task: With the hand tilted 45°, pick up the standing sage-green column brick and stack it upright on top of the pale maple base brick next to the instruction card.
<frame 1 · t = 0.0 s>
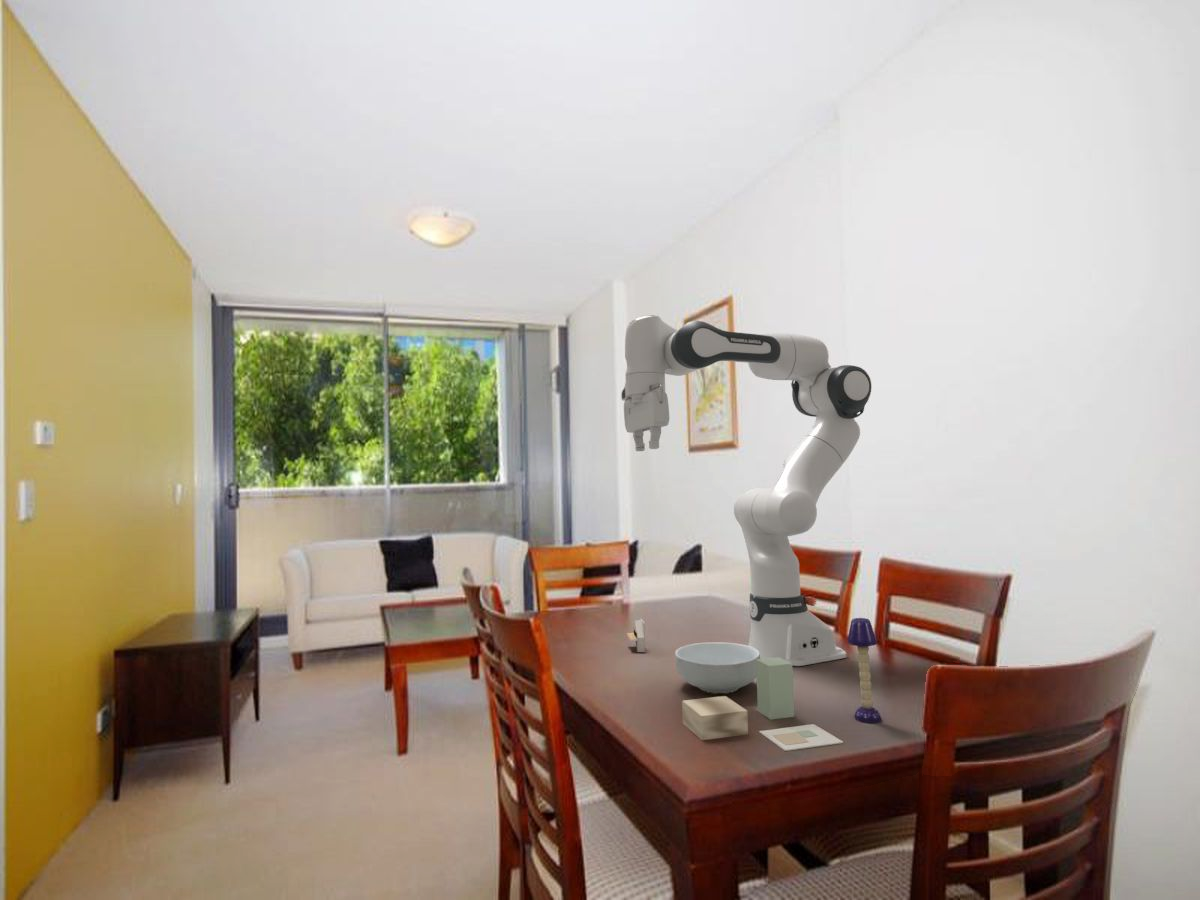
hand: (646, 450, 149), 48 cm above the table, tool pointing down, fingers open, 8 cm apart
cereal bowl: (718, 688, 133), on the table
column brick: (775, 713, 117), on the table
base brick: (714, 730, 111), on the table
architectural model: (639, 652, 164), on the table
instruction card: (800, 737, 106), on the table
toy lamp: (865, 719, 114), on the table
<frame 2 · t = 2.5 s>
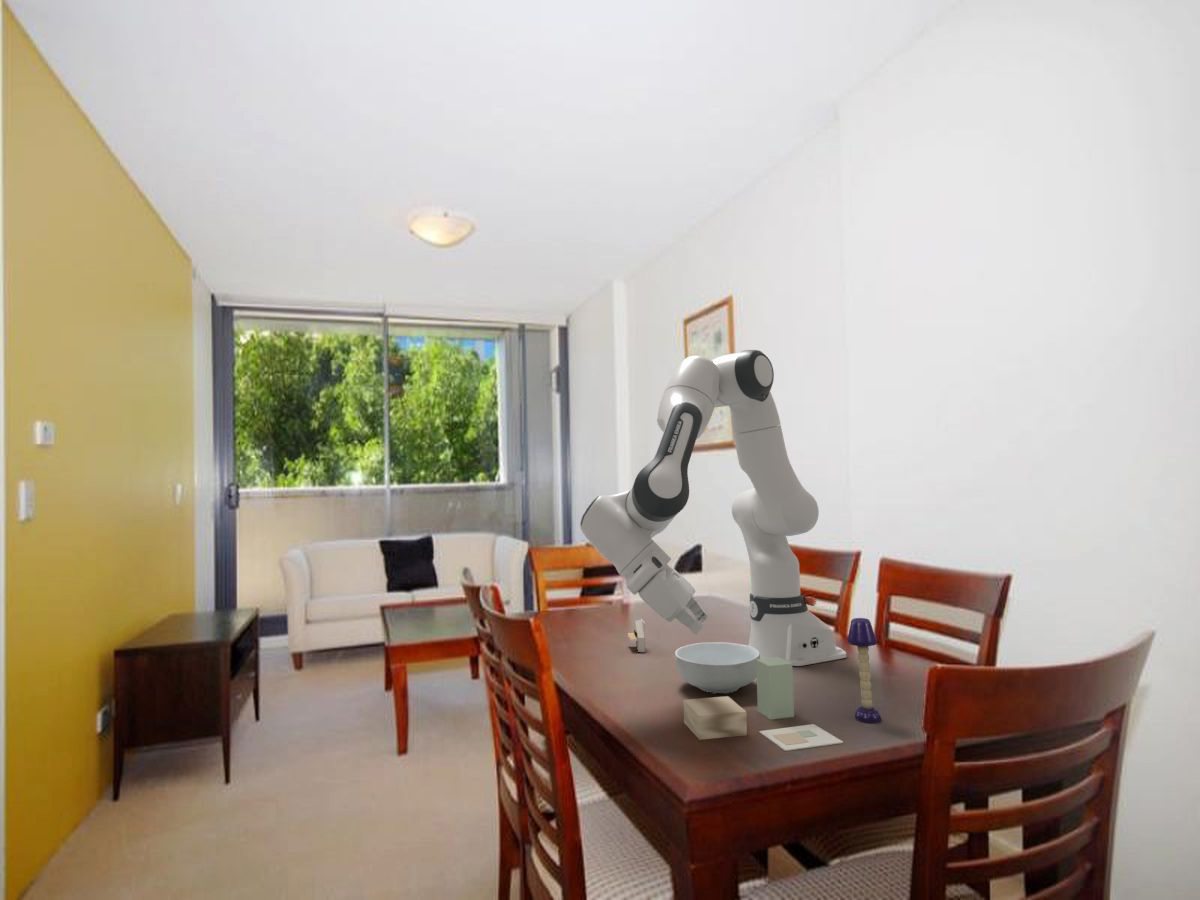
hand: (702, 624, 121), 15 cm above the table, tool tilted 45°, fingers open, 8 cm apart
nothing on the table moved.
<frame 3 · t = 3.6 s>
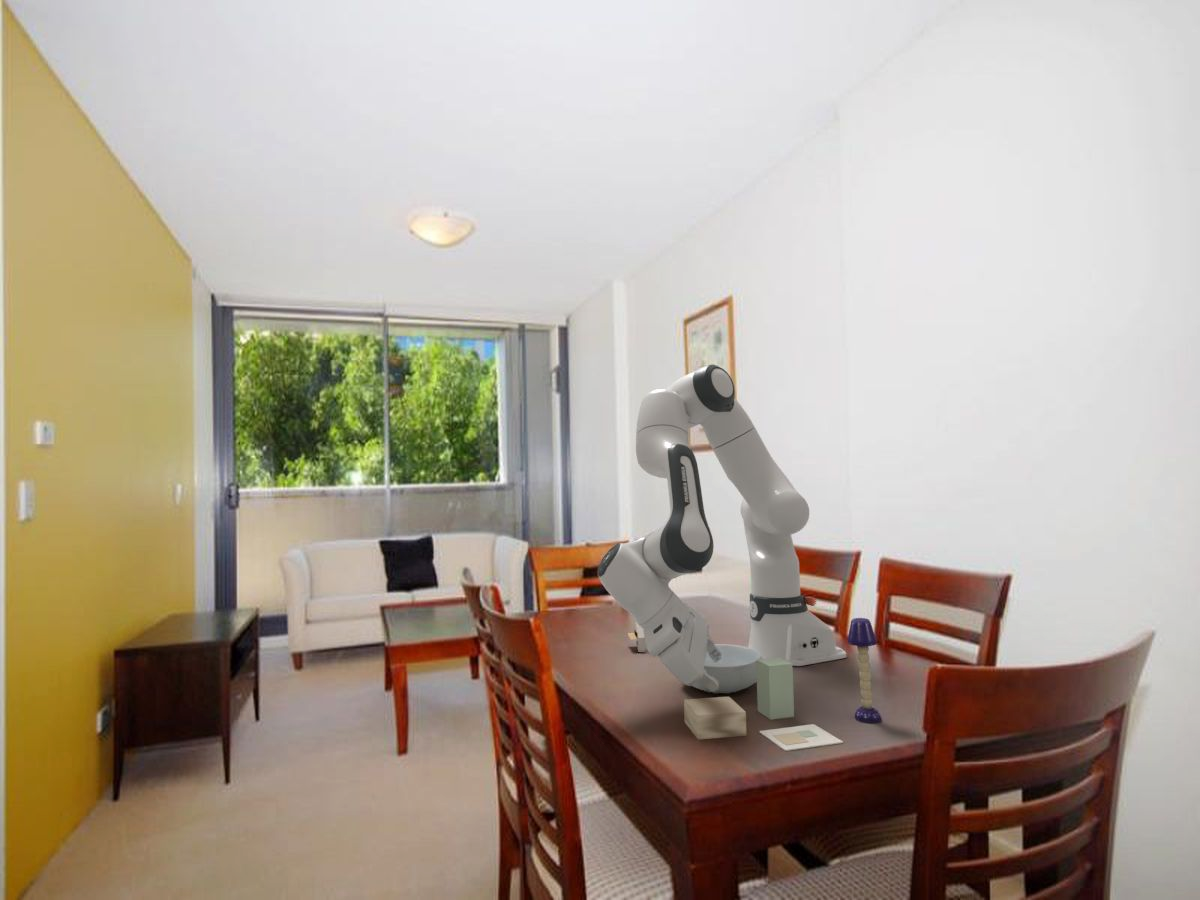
hand: (717, 672, 124), 5 cm above the table, tool tilted 45°, fingers open, 8 cm apart
cereal bowl: (719, 690, 133), on the table, touching gripper
everything else where it was.
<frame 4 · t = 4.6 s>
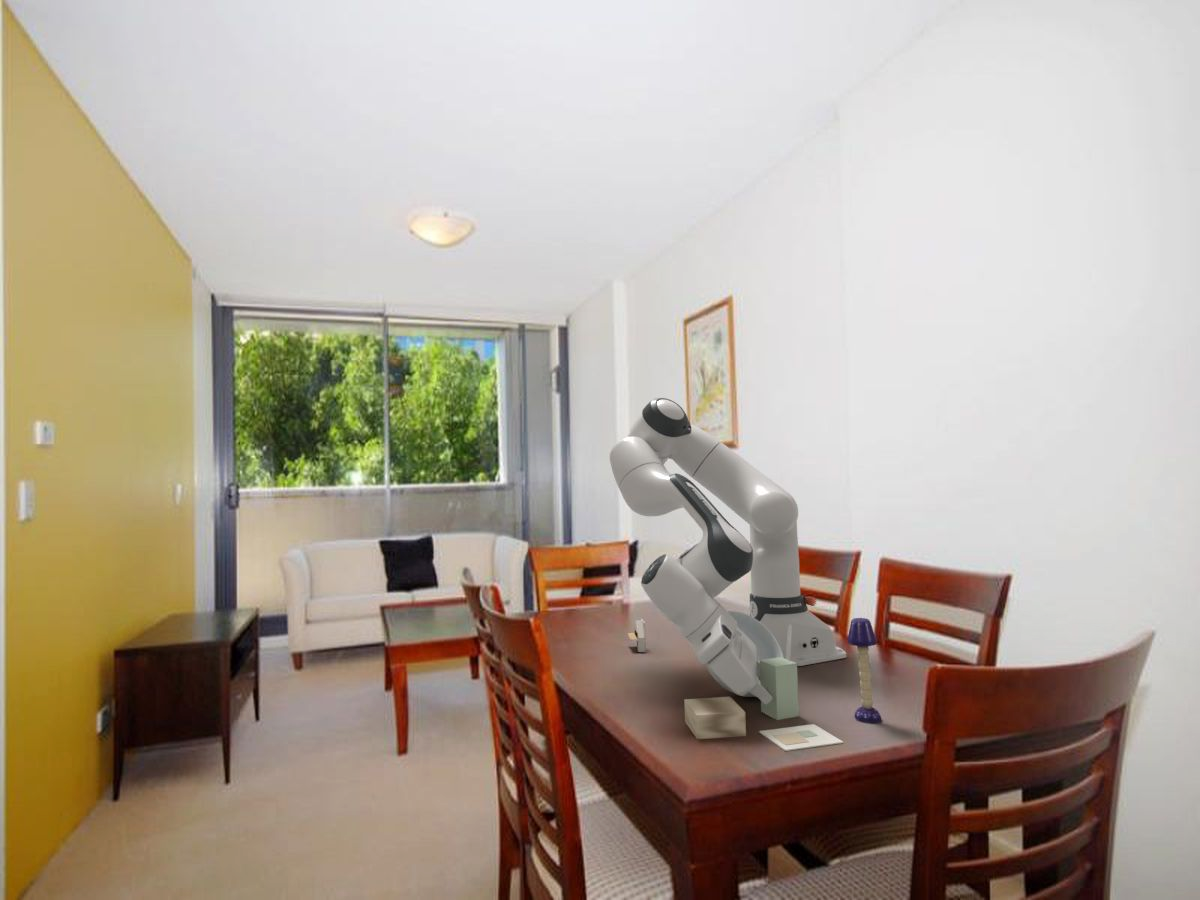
hand: (769, 691, 119), 4 cm above the table, tool tilted 45°, fingers open, 7 cm apart
cereal bowl: (727, 666, 133), point 4 cm above the table, touching gripper
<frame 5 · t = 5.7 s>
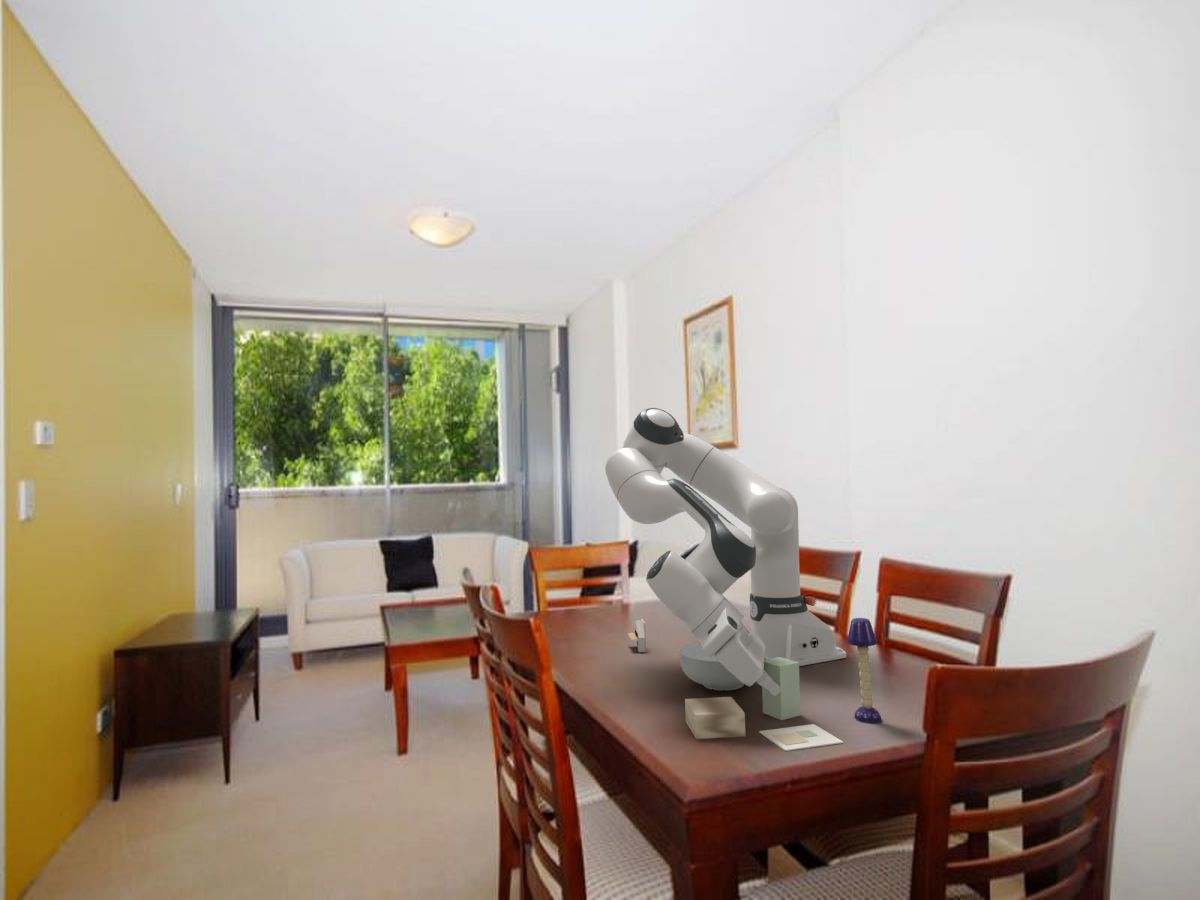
hand: (778, 685, 117), 5 cm above the table, tool tilted 45°, fingers closed on column brick, 6 cm apart
cereal bowl: (722, 686, 134), on the table
column brick: (781, 714, 117), on the table, touching gripper
everything else where it was.
when the fingers open (10 cm above the table, at t = 10.8 s): column brick stays where it is, point 4 cm above the table.
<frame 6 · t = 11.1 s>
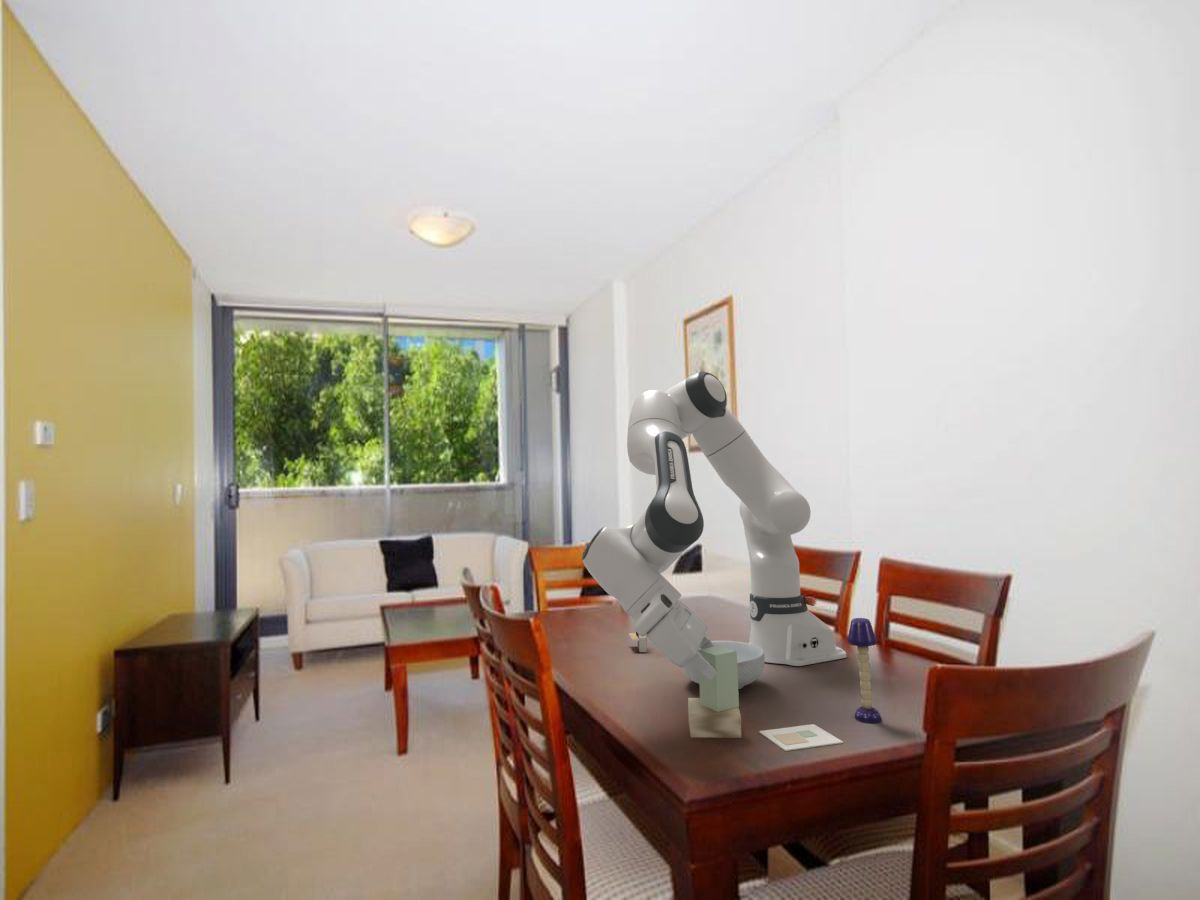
hand: (716, 667, 111), 10 cm above the table, tool tilted 45°, fingers open, 8 cm apart
column brick: (719, 705, 111), point 4 cm above the table
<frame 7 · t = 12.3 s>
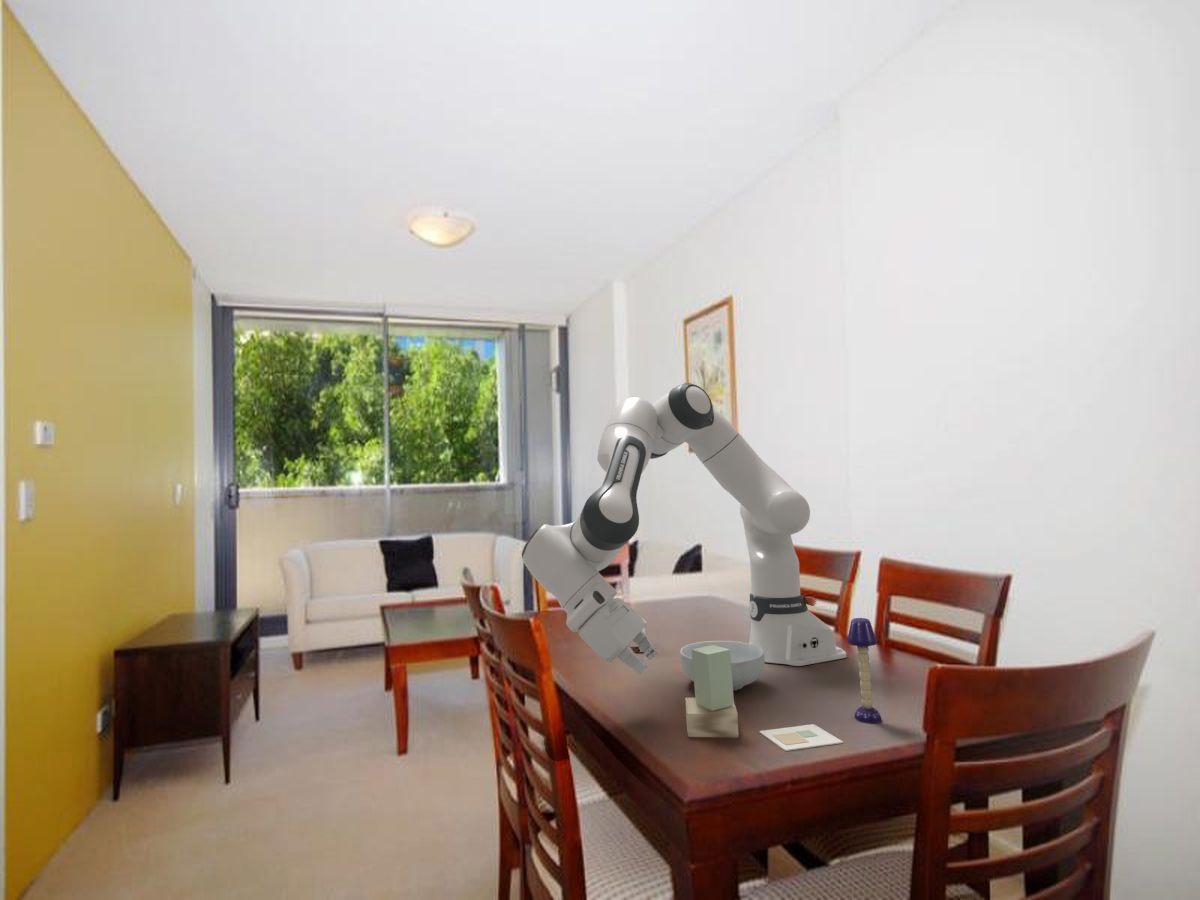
hand: (649, 663, 114), 10 cm above the table, tool tilted 45°, fingers open, 8 cm apart
column brick: (714, 704, 111), point 4 cm above the table, touching base brick
base brick: (711, 730, 111), on the table, touching column brick
everything else where it was.
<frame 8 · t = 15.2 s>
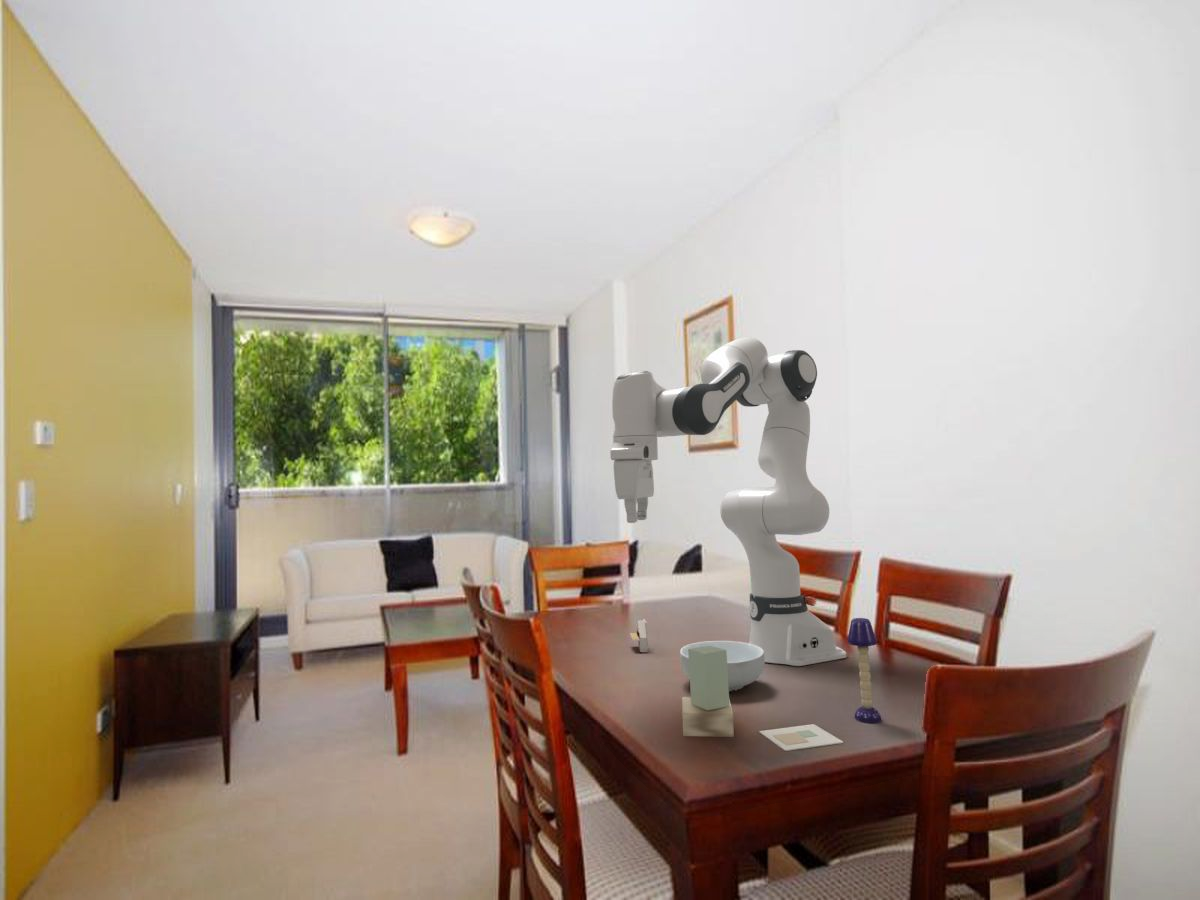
hand: (637, 521, 133), 33 cm above the table, tool pointing down, fingers open, 8 cm apart
nothing on the table moved.
at the end: column brick 0.7 cm off-centre on the base brick, point 4.0 cm above the base brick's base; column brick tilted 1°; the gripper is holding nothing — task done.
